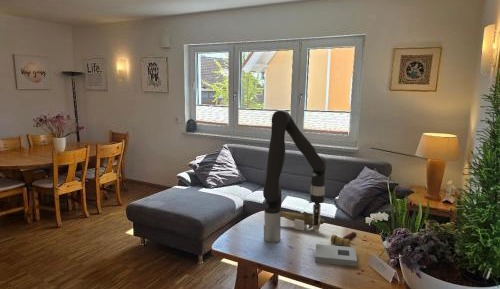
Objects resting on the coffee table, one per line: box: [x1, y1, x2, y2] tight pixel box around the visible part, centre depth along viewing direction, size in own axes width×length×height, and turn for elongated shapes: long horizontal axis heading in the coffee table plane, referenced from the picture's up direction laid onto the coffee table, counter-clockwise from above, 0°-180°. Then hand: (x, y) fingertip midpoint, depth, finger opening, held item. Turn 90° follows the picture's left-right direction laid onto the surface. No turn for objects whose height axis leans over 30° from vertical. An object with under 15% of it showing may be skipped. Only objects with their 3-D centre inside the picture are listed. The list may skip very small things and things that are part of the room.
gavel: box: [330, 231, 357, 247], centre depth 185 cm, size 21×5×10 cm
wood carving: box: [280, 209, 326, 231], centre depth 203 cm, size 9×35×11 cm, turn 61°
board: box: [314, 243, 358, 267], centre depth 165 cm, size 20×14×3 cm
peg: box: [312, 208, 321, 232], centre depth 177 cm, size 4×4×12 cm
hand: (316, 222), depth 177 cm, fingers closed on peg, 4 cm apart
